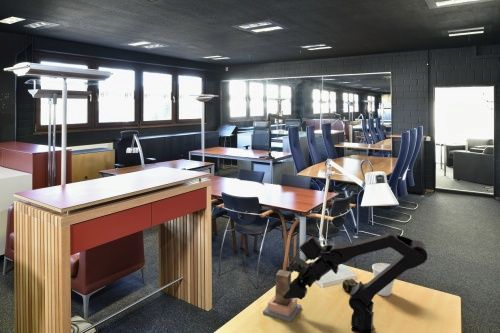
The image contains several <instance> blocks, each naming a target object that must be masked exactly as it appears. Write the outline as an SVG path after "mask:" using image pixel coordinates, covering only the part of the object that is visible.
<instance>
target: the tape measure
mask: <svg viewBox="0 0 500 333" xmlns="http://www.w3.org/2000/svg"><path fill="white" fill-rule="evenodd" d="M358 283H359V282H357V281H356V280H355V279H353V278H347V279H344V280H343V282H342V285H341V286H342V289H343V290H344V291H346V292H347V293H351V291H352V288H353V287H354V286H356V285H357V284H358Z"/></svg>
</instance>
